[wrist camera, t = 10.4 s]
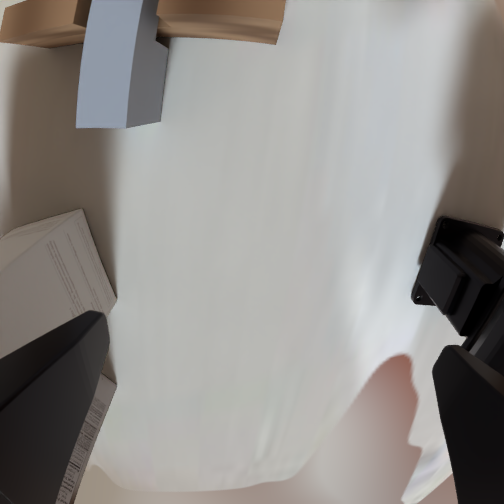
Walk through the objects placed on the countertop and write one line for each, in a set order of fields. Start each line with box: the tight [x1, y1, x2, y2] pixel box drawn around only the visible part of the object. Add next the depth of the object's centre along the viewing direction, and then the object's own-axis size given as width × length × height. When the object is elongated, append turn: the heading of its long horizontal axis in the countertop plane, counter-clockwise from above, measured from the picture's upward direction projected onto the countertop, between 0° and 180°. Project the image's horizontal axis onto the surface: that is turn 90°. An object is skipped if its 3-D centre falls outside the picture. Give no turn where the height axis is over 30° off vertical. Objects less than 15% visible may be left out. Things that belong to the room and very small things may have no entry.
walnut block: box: [0, 0, 286, 48], centre depth 12 cm, size 14×2×5 cm, turn 83°
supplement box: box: [0, 209, 117, 359], centre depth 15 cm, size 7×7×13 cm
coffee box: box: [55, 373, 117, 504], centre depth 18 cm, size 9×6×16 cm
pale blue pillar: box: [76, 0, 169, 128], centre depth 12 cm, size 2×12×5 cm, turn 173°
